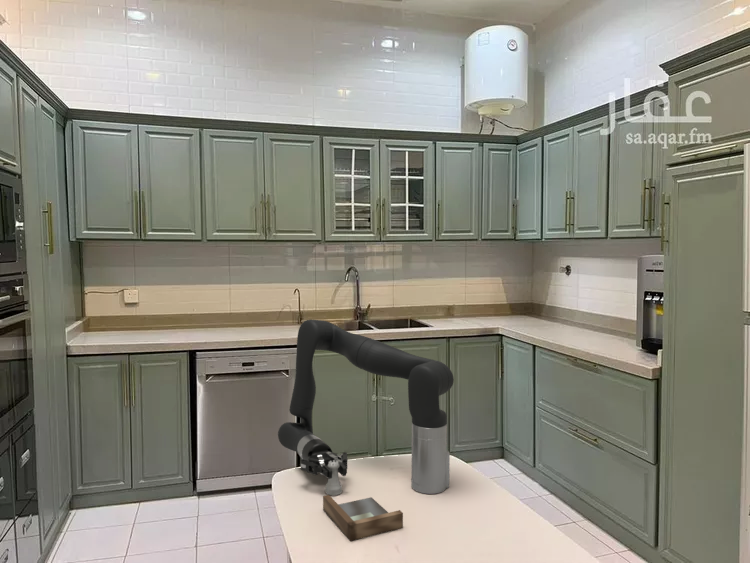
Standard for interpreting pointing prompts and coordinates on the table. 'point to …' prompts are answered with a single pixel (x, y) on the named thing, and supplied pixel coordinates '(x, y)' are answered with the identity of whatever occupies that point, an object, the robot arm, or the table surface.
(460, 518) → the table surface
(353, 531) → the corner arena
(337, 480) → the rook chess piece
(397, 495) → the table surface
